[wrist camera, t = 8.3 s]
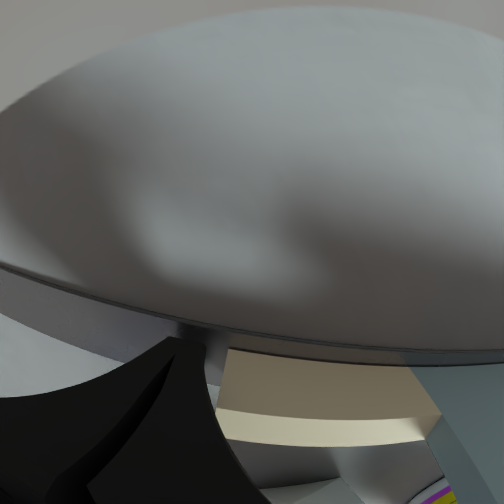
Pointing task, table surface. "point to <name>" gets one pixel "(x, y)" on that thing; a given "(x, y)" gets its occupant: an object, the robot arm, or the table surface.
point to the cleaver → (373, 412)
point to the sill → (188, 332)
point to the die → (313, 493)
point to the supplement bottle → (436, 494)
